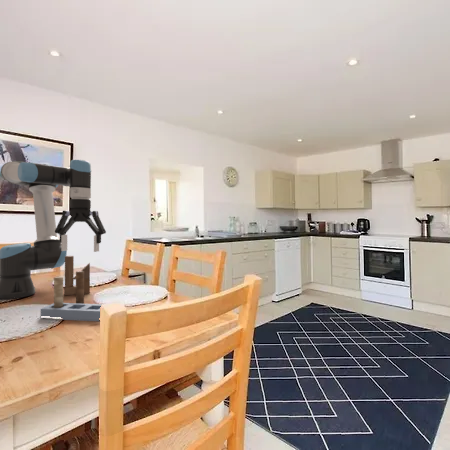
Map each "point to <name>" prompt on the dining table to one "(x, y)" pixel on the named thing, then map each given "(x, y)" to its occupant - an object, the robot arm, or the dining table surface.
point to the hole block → (73, 311)
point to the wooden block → (69, 272)
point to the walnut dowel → (80, 287)
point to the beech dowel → (58, 292)
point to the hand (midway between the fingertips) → (80, 251)
